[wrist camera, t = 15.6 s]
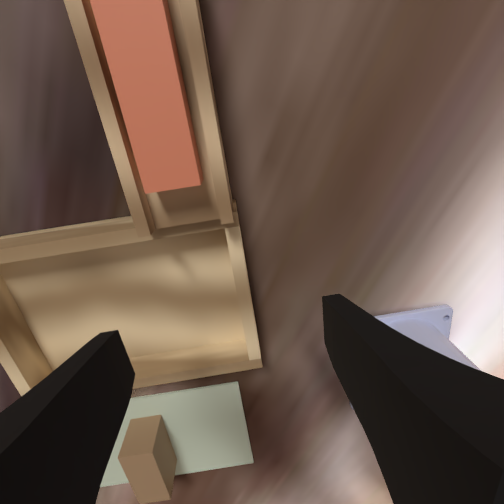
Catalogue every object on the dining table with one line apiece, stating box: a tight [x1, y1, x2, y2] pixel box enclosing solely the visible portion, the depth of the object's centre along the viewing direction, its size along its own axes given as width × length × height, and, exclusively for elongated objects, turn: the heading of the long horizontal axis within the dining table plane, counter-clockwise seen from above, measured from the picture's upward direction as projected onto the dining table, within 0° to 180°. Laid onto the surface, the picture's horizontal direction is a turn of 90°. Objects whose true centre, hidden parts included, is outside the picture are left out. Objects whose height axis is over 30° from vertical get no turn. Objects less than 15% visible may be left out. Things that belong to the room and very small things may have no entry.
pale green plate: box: [100, 381, 254, 504], centre depth 25 cm, size 10×15×4 cm
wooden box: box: [0, 199, 263, 396], centre depth 19 cm, size 11×16×3 cm
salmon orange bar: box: [90, 0, 203, 194], centre depth 11 cm, size 10×2×2 cm, turn 8°
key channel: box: [64, 0, 234, 238], centre depth 14 cm, size 13×5×5 cm, turn 8°
